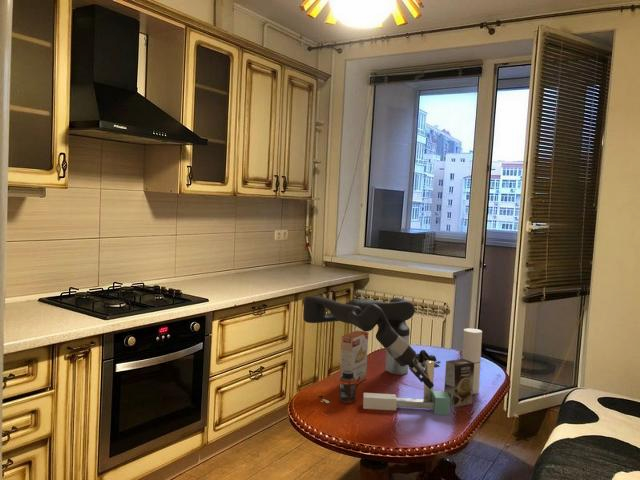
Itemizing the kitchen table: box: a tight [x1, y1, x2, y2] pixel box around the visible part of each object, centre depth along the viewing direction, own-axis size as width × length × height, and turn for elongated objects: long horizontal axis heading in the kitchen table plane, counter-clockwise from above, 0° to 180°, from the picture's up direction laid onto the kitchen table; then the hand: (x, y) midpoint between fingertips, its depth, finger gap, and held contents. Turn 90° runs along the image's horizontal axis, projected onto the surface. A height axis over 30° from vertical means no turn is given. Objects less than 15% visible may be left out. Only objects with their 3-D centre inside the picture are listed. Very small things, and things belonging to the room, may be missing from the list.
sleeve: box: [362, 392, 398, 411], centre depth 191 cm, size 12×5×4 cm, turn 86°
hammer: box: [396, 360, 435, 410], centre depth 189 cm, size 20×3×17 cm, turn 86°
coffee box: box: [443, 358, 474, 408], centre depth 197 cm, size 9×6×16 cm
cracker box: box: [338, 329, 369, 386], centre depth 215 cm, size 14×6×21 cm, turn 148°
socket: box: [432, 390, 451, 416], centre depth 189 cm, size 5×7×6 cm
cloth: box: [414, 349, 442, 369], centre depth 250 cm, size 22×19×6 cm
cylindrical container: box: [461, 327, 483, 395], centre depth 210 cm, size 7×7×25 cm
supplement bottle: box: [339, 370, 357, 404], centre depth 195 cm, size 6×6×11 cm
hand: (430, 382), depth 189 cm, fingers open, 8 cm apart
